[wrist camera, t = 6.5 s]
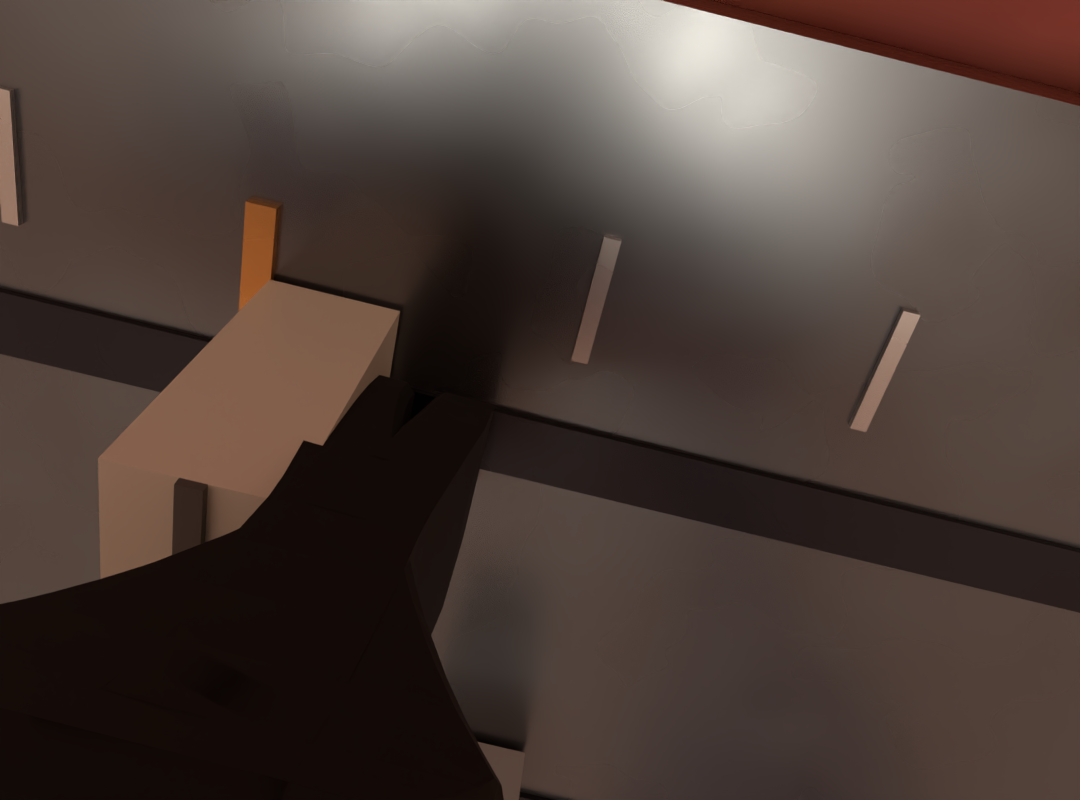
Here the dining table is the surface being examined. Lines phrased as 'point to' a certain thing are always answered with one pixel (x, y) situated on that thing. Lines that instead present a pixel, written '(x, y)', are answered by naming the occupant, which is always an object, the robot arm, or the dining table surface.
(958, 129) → the mixing console
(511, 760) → the fader cap grey
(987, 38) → the dining table surface
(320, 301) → the fader cap ivory
